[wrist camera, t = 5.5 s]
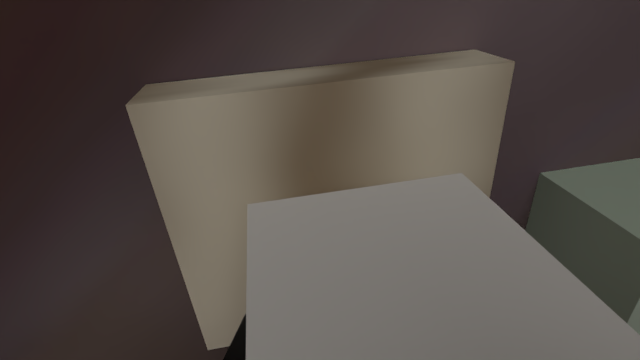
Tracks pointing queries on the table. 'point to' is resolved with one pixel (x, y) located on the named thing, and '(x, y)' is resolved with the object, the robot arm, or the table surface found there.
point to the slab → (305, 150)
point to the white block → (415, 281)
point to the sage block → (594, 229)
